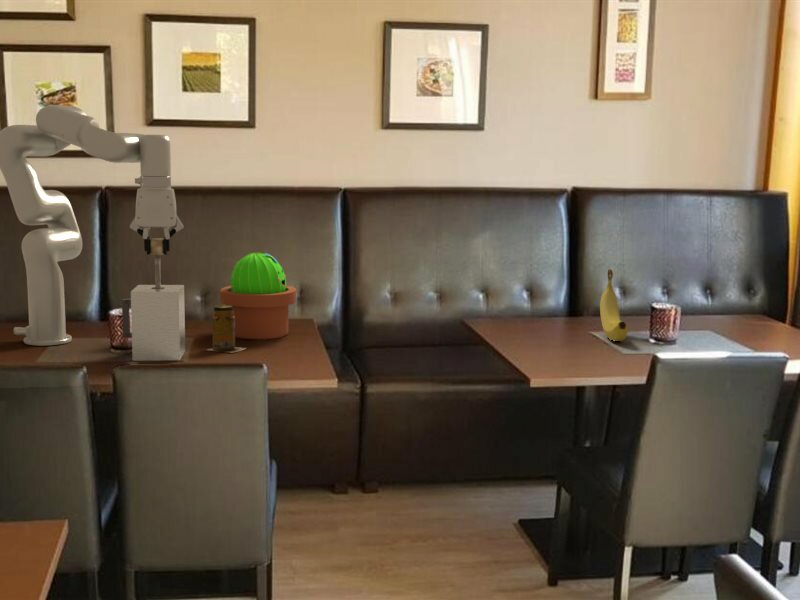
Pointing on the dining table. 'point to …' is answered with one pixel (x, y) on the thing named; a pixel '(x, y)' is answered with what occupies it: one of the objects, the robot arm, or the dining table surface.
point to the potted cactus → (259, 297)
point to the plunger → (157, 258)
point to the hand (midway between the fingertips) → (157, 253)
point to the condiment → (224, 330)
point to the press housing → (155, 322)
